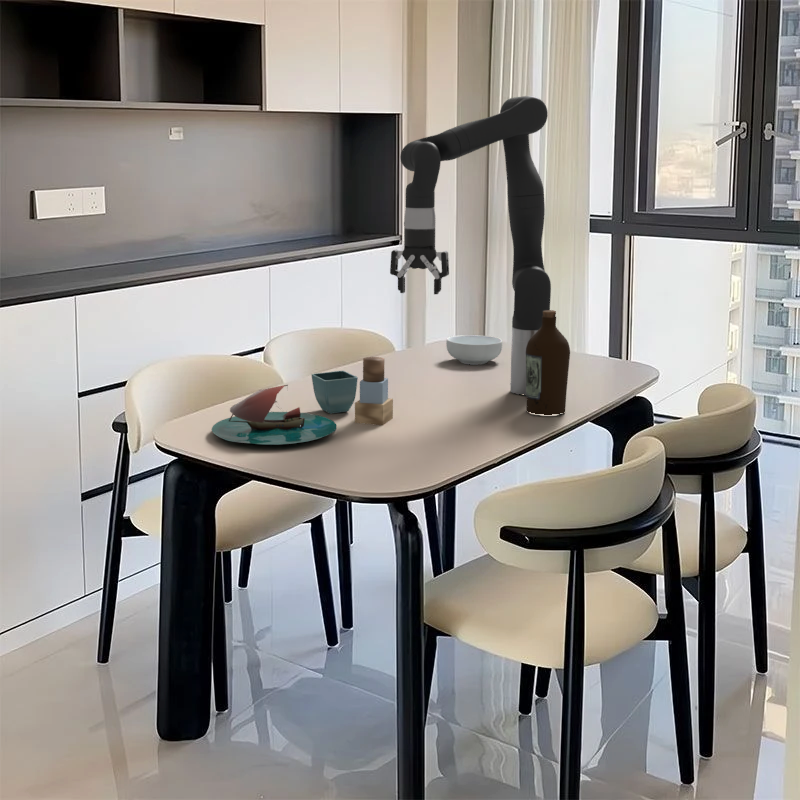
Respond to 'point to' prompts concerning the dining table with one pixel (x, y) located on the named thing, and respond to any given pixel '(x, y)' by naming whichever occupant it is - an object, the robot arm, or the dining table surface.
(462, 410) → the dining table surface
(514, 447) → the dining table surface
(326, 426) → the sailing ship model
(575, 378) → the dining table surface
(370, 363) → the brown rounded cylinder
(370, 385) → the mid block
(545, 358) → the olive oil
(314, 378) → the flower pot
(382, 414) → the base block
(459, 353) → the cereal bowl
